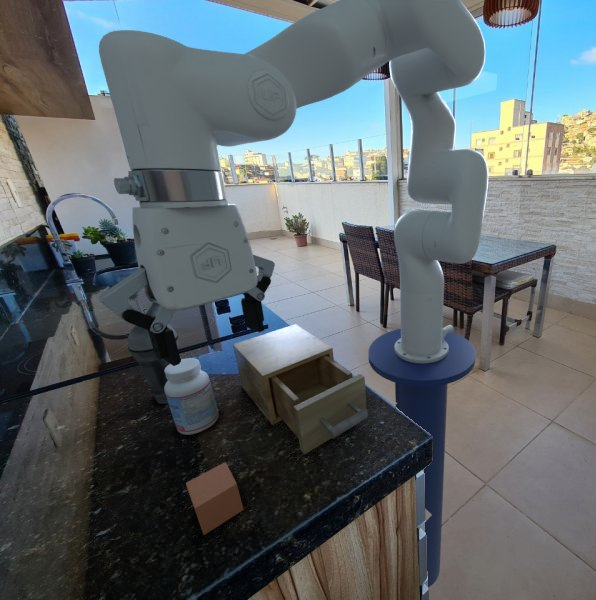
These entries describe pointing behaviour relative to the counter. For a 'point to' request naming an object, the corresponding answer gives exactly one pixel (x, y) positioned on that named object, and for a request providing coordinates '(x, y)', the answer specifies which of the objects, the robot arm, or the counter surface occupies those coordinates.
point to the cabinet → (274, 361)
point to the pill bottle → (190, 397)
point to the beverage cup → (149, 359)
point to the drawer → (319, 400)
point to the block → (215, 497)
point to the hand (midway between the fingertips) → (217, 343)
